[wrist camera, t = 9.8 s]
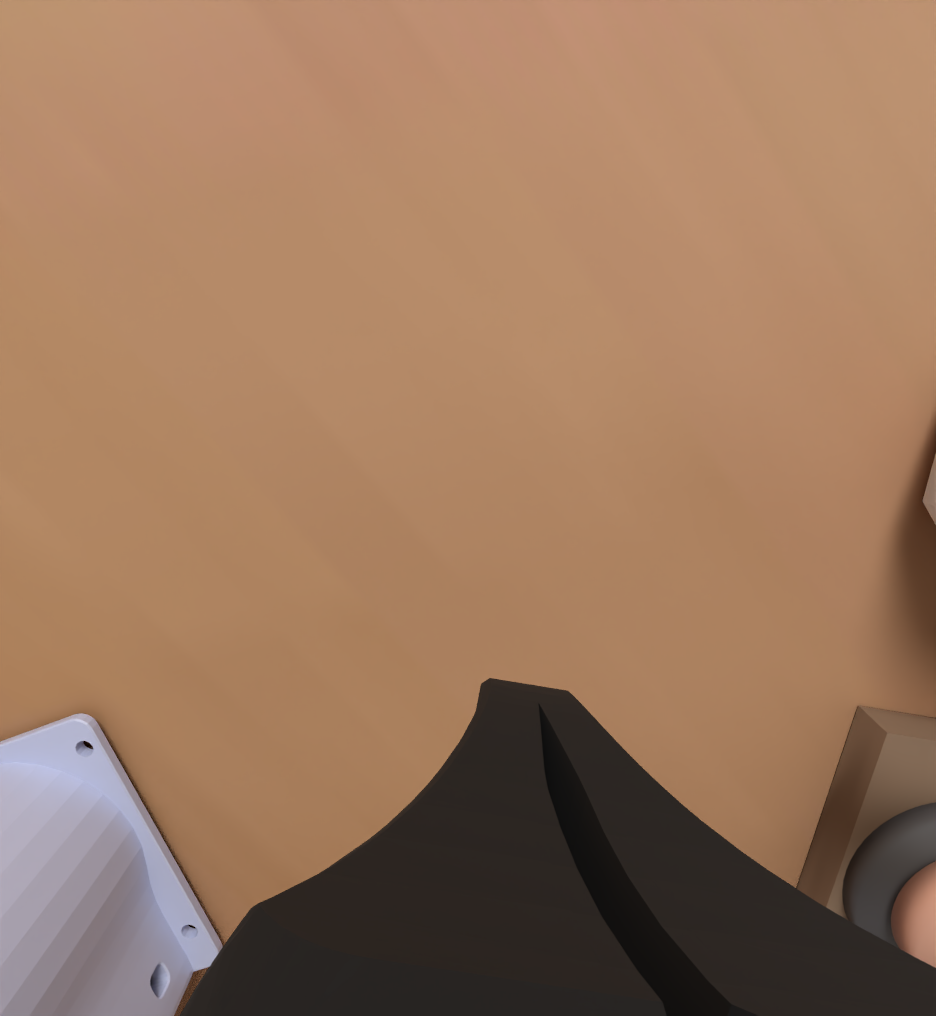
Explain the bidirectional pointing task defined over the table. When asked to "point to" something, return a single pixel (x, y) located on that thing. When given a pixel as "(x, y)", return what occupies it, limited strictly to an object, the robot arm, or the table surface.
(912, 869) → the button panel
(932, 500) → the white handled tablet device
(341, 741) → the table surface
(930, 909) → the terracotta button
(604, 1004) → the robot arm
